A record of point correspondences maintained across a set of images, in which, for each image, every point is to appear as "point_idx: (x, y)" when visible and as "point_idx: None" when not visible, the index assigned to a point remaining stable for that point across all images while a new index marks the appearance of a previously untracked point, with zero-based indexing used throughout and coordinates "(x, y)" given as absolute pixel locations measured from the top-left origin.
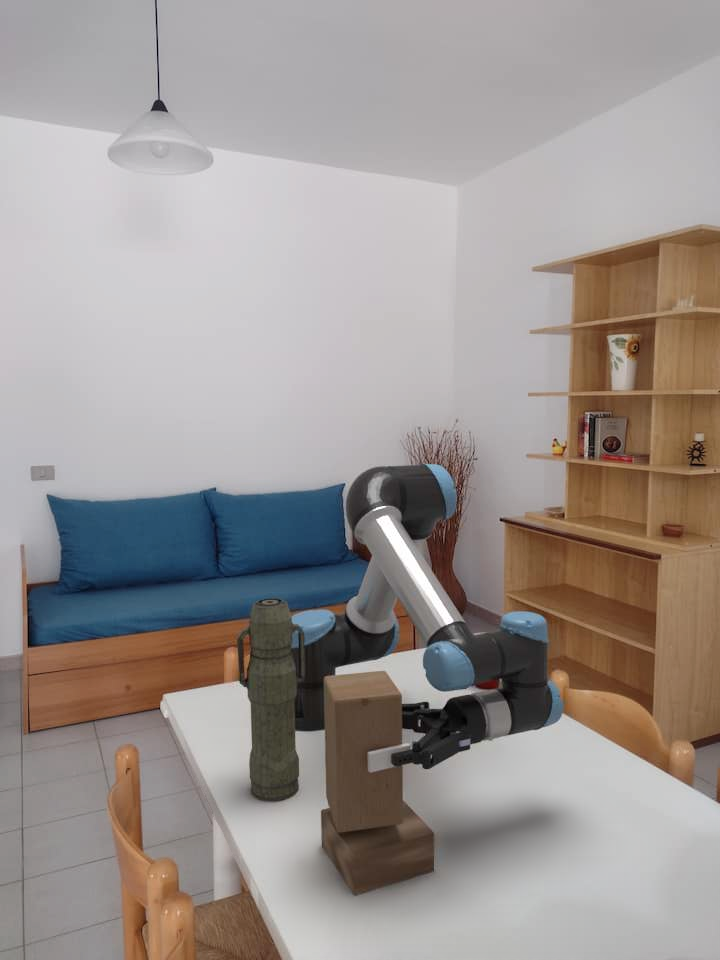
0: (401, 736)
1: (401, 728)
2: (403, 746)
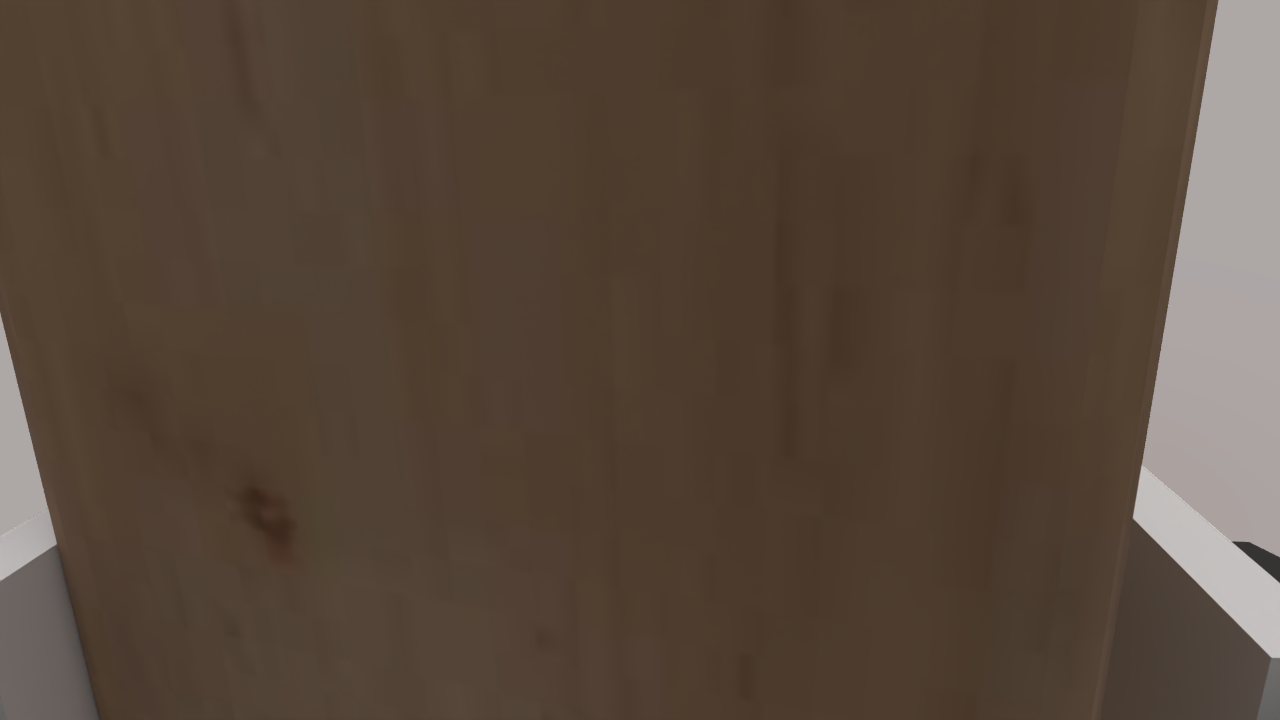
0: (33, 436)
1: (4, 322)
2: (4, 540)
